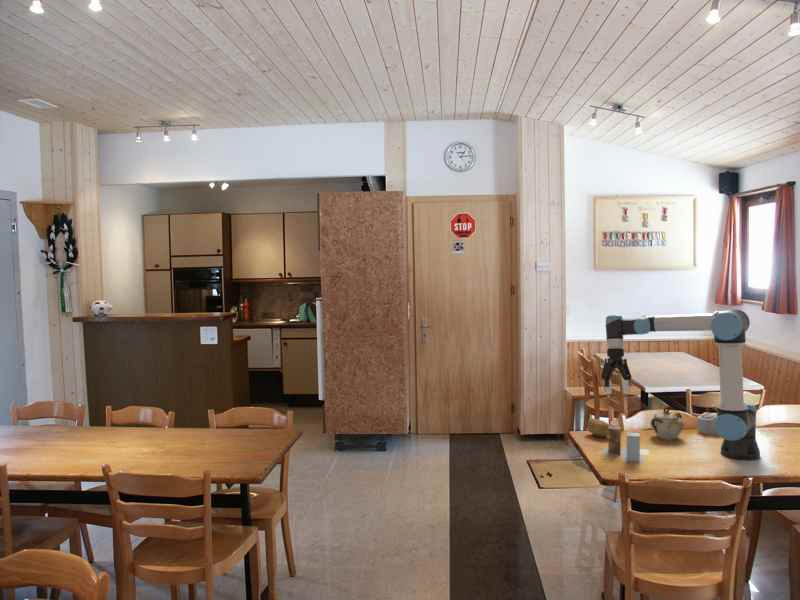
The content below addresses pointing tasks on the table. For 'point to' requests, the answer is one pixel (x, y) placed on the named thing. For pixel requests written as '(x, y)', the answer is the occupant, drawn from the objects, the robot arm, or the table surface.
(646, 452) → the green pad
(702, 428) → the lumpy-topped squat cylinder
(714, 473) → the table surface
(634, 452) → the bluegrey block
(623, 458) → the code tile
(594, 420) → the potato
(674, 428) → the sugar bowl
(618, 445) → the walnut block
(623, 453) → the code tile
